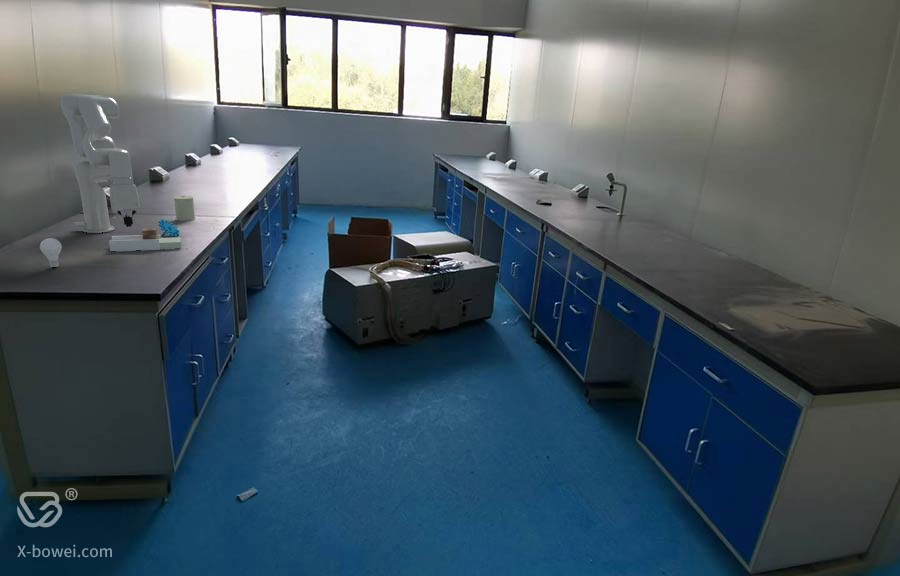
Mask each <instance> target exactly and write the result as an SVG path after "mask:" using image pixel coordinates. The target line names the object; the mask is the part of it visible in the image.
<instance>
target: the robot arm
mask: <svg viewBox="0 0 900 576" xmlns="http://www.w3.org/2000/svg"><path fill="white" fill-rule="evenodd" d="M60 107H61V110H62V113H63V115H64V118H65V119H66V120H67V122H68V124H69V128H70V133H71V139H72V144H73V149H74V152H75V154H76V156H77V157H79V158H85V159H87V160H83V161H78V162H77V163H76V164H75V165H74V167H73V169H74V171H73V172H74V175H75V177H76V180H77V183H78V187H79V192H80V193H79V194H80V200H81V205H82V211H83V212H82V213H83V217H84V220H83V221H81V222H80V221H74V222H73V225H74V227H76V228H80V227H82V228H81V229H82V230H81V231H82V232H84V233H86V232H87V233H88V234H101V233H102V232H103V233H109V232H112V231H114V230H115V226H113V225H111V221H110V215H109V209H108V202H107V196H106V191H105V190H104V189H103V188H102V187H101V185H99V184H98V183H111V184H110V185H109V201H110V208H111V212H112V213H115V214H118V215H120V216H121V217H122V218H123V219H122V220H123V224H124V225H125V227H126V228H128V227H130V228H131V227H132V225H133V224H134V220H133V216H134V215H135V214H137V213H141V212H142V211H143V210H142V207H141V200H140V196H139V191H138V188H137V185H136V184H134V178H133V170H132V162H131V155H130V152H129V151H128V150H126V149H123V148H120V147H119V148H118V147H117V146H116V142H115V141H114V139H113V138H112V137H110V136H109V135H110V134H111V132H112V131H113V127H112V125H111V122H110V120H109V119H117V118H119V117H120V107H119V104H118V103H117V101H116V100H115V99H114V98H112V97H109V96H107V95H101V94H100V95H98V94H84V93H68V94H64V95H62V96H61V97H60ZM126 211H128V214H127V212H126Z"/></svg>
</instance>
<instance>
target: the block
mask: <svg viewBox="0 0 900 576" xmlns="http://www.w3.org/2000/svg"><path fill="white" fill-rule="evenodd" d="M157 228H158V227H143V228H142V230H141V235H143V239H158V236H157V235H158V231H157Z"/></svg>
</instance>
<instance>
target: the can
mask: <svg viewBox="0 0 900 576" xmlns="http://www.w3.org/2000/svg"><path fill="white" fill-rule="evenodd" d="M173 201H174V208H175V220H176V221H178V220H182V221H181V222H186V221H185V220H192V221H195V220H196V216H195V215H196V214H195V207H194V206H195V204H194V197H193V196H191V195H178V196H174V197H173ZM194 219H195V220H194Z"/></svg>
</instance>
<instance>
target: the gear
mask: <svg viewBox="0 0 900 576" xmlns="http://www.w3.org/2000/svg"><path fill="white" fill-rule="evenodd" d="M169 222H170V221H169V220H167V219H166V220H165V219H160V220H159V221H158V226H159V227H160V230H161V231H163V232H162V233H161V236H162V235H164V236H165V235H168V234H169V237H170V238H174V237H176V236H177V235H178V236H180V230H179V229H178V227H179V226H178V225H177V224H176V225H175V226H174V223H173V222H170V223H169ZM178 236H177V237H178Z"/></svg>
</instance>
